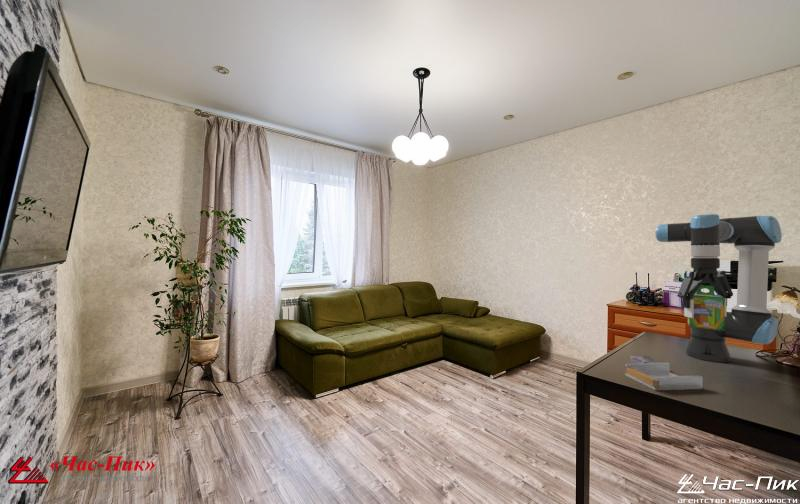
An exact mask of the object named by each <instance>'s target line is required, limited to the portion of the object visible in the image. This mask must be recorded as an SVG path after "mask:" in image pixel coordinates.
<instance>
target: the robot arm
mask: <svg viewBox="0 0 800 504" xmlns="http://www.w3.org/2000/svg"><path fill="white" fill-rule="evenodd" d="M654 233H655V239H656V241H658V242H660V243H663V242H664V243H674V242H675V243H677V242H682V243H683V242H690V256H691V257H692V258H691V259H690V267H691V268H692V269H693V270H692V271H691V270H687V271H686V270H685V271H684V277H683V279H682V283H681V285H680V287H679V289H678V292H677V295H676V296H677V297H678V298H680V299H682V300H683V301H682V307H683V316H684V317H686V318H688V317H690V318H694V300H692V299H691V298H692V297H693V295H694V294H695V293H696V291H697V290H698V288H699V287H700V285H704V284H708V285H709V286H713V287H714V293H715V294H716V295H721V296H723V298H725V320H724V331H721V330H714V329H706V328H697V327H690V338H689V341H688V343H687V346H686V348H685V354H686V355H687V356H688V357H692V358H695V359H699V360H703V361H709V362H714V363H715V362H716V363H729V362H731V361H732V354H731V353H730V352H729V348H728V345H727V344H726V339H731V340H737V341H743V342H748V343H752V344H761V345H768V344H771V343H772V342H773V341H774V340H775V338H776V336H777V333H778V329H779V320H778V319H779V318H776V317H775V316H773V312H772V311H771V310H770V309H768V306H767V303H768V283H769V280H768V278H769V257H770V255H769V254H770V253H769V252H770V251H772V250H774V248H775V244H780V243H781V241H782V229H781V225H780V223H779V221H778V219H777V218H776V217H775V216H773V215H754V216H751V215H750V216H743V217H741V216H740V217H727V218H726V217H725V218H720V215H719V214H716V213H715V214H714V213H711V214H709V213H708V214H697V215H693V216H692V217H691V218H690V222H680V223H679V222H677V223H664V224H659V225H658V226H656V228H655V232H654ZM720 244H733V245H734V249H736V250H737V251H738V266H737V267H738V269H737V270H738V271H737V293H736V305H735V306H733V307H731V311H727V307H728V300H729V299H731V298H732V297H733V296H734V293H733V290H732V287H731V285H730V283H729V281H728V279H727V274H726V272H727V271H726V270H720V267H721V260H720V259H721V258H719V257H720V256H721V245H720ZM718 269H719V270H718Z"/></svg>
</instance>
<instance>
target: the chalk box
mask: <svg viewBox="0 0 800 504" xmlns="http://www.w3.org/2000/svg"><path fill="white" fill-rule="evenodd" d="M703 289H705V290H709V291H708V292H704V291H702V290H703ZM691 299H692V300H694V318H690V317H687V324H688V326H689V327H690V328H691V327H697V328H706V329H714V330H721V331H724V320H725V298H723V296H721V295H717V293H715V291H714V287H713V286H711V285H704V284H702V285H700V287H699V288H698V290H697V291H696V292H695V294H694V295H693V297H692V298H691Z"/></svg>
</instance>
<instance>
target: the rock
mask: <svg viewBox="0 0 800 504" xmlns="http://www.w3.org/2000/svg"><path fill="white" fill-rule="evenodd" d="M629 359H630V364H636V363H664V362H663V361H660V360H656V359H655V358H652V357H650V356H649V355H648V356H647V355H637V354H632V355H630V358H629Z"/></svg>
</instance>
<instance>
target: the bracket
mask: <svg viewBox="0 0 800 504" xmlns="http://www.w3.org/2000/svg"><path fill="white" fill-rule="evenodd" d="M670 367H671V366H670V362H663V363H636V364H632V363H625V364H624V375H625V376H626V377H628V378H630V379H632V380H634V381H636V382H637V383H640V384H641V385H644V386H645V387H648V388H650V389H651V390H653V391H673V390H674V391H680V390H681V391H682V390H703V383H704V382H703V377H704V376H702V375H697V374H695V375H677V374H676V373H673V372H672V371H671V370H670Z"/></svg>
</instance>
